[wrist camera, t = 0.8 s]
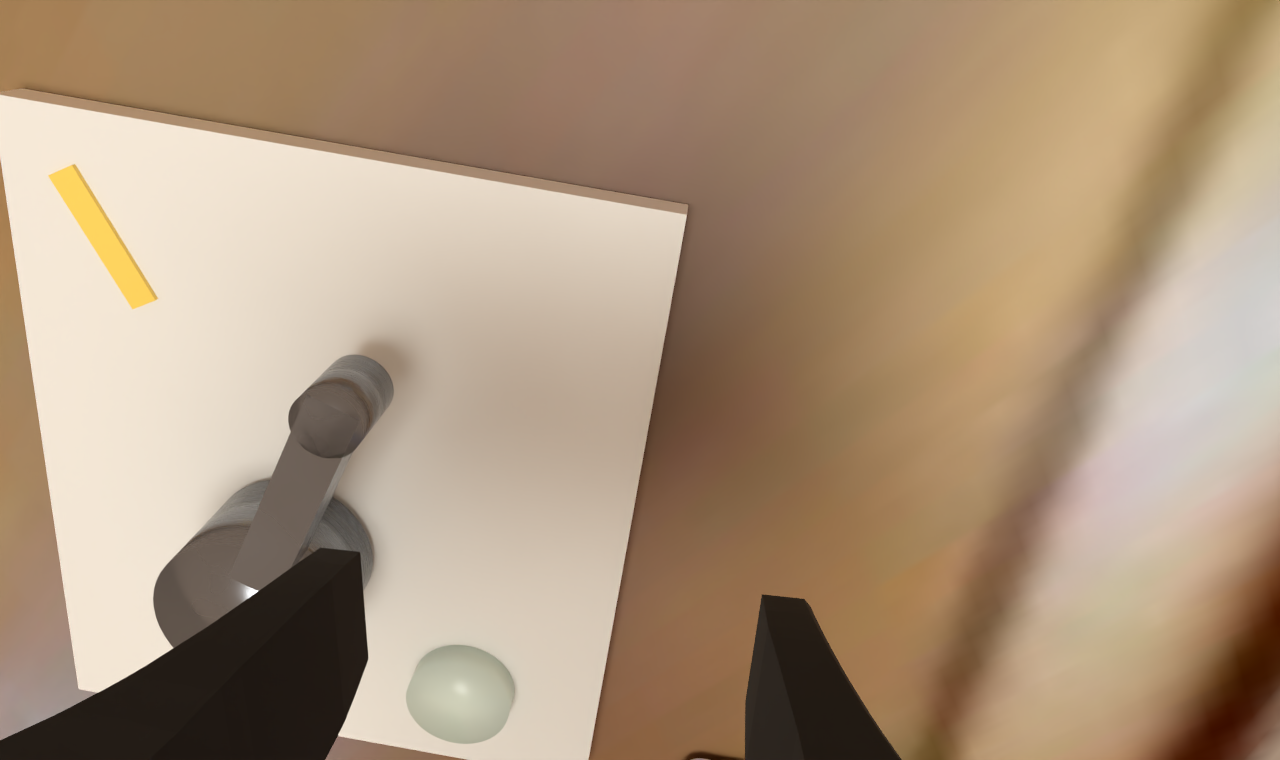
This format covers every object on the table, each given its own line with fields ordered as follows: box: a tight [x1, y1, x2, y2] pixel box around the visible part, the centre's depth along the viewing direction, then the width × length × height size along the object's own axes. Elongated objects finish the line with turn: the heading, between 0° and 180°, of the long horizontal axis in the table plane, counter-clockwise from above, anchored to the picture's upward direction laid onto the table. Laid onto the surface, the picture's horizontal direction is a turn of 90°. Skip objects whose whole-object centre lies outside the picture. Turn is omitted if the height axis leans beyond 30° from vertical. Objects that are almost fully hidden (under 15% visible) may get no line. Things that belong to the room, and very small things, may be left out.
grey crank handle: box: [153, 355, 394, 648], centre depth 22 cm, size 10×4×3 cm, turn 151°
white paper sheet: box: [0, 88, 688, 760], centre depth 24 cm, size 18×16×2 cm
